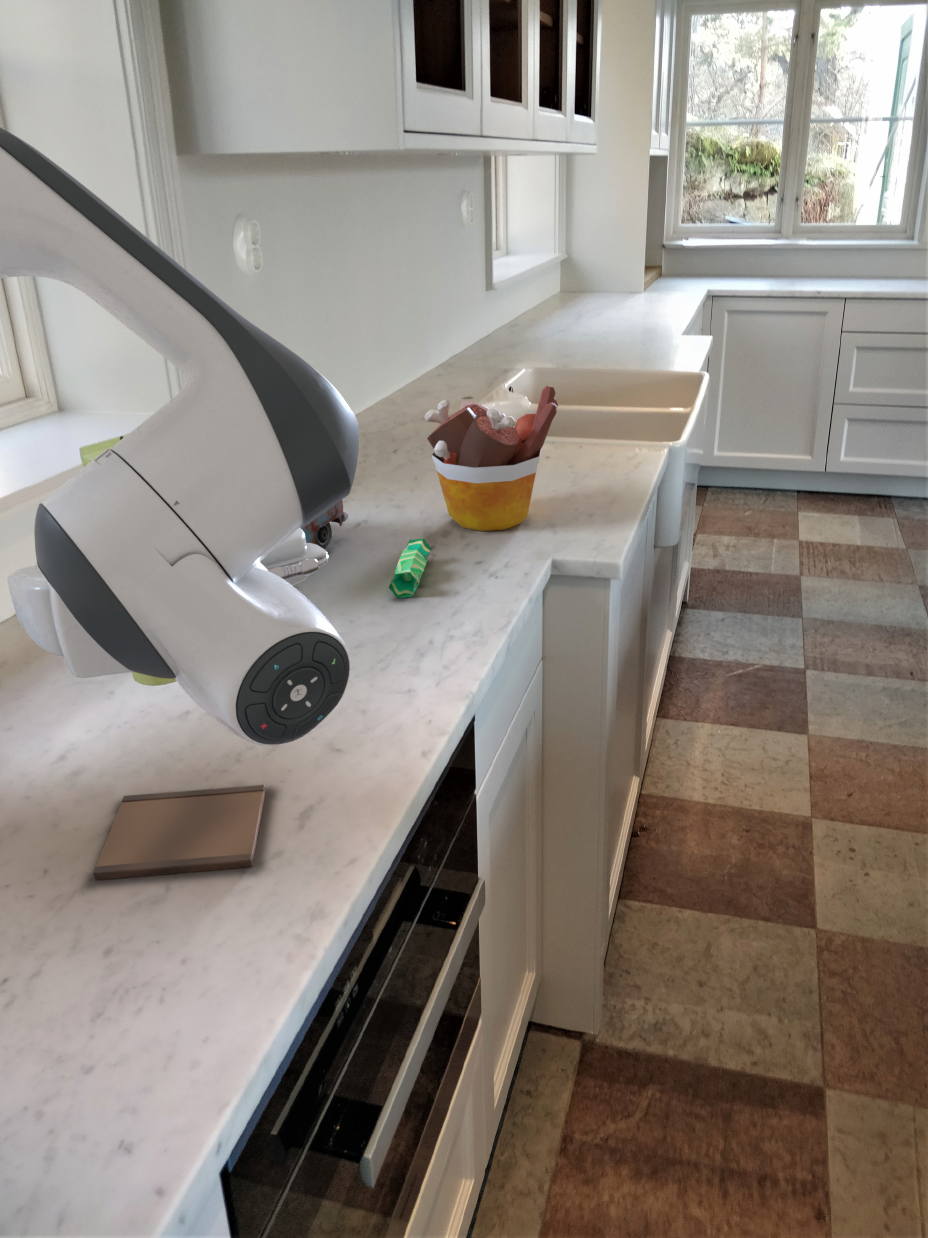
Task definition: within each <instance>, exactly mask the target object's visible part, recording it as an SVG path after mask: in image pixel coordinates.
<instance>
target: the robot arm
mask: <svg viewBox="0 0 928 1238" xmlns="http://www.w3.org/2000/svg"><path fill="white" fill-rule="evenodd" d="M16 277H18V278H19V277H37V278H45V279H46V278H47V279H51V280H56V281H59V282H62V283H64V284H68V285H70V286H71V287H74V288H75V289H77V290H79V291H80V292H82V293H83V294H85V296H87V297H89V298H90V299H91V300H93V302H95V303H96V304H98V305H99V306H100V307H101V308H103V309H104V310H105V311H106V312H108V313H109V314H110V315H111V316H112V317H114V318H115V319H116V320H117V321H119V322H120V323H121V324H122V325H123V326H125V327H126V328H127V329H129V330H130V331H131V332H132V333H134V334H135V335H136V336H137V337H138V338H140V339H141V340H142V341H143V342H145V343H146V344H147V345H149V347H151V348H152V349H154V351H156V352H157V353H158V354H159V355H161V356H162V357H163V358H165V359H166V361H168V362H169V363H171V364H172V365H173V366H174V367H176V368H177V369H178V370H179V371H181V373H183V374H184V375H185V377H186V380H185V384H184V386H183V387H182V389H180V391H178V393H177V394H176V395H174V397H172V398H171V399H170V400H168V401H167V402H166V403H165V404H164V405H162V406H161V407H160V408H158V410H156V411H155V412H154V413H152V415H149V417H147V419H145V420H144V421H142V422H141V423H140V424H139V425H138V426H137V427H135V428H134V429H133V430H131V431H130V432H128V433H129V434H128V433H127V434H128V435H126V436H125V437H124V438H123V439H122V440H120V441H119V442H118V443H117V444H115V445H114V446H113V447H112V448H110V450H109V449H106V450H105V451H104V452H102V453H101V454H100V455H99V456H97V457H96V458H95V459H94V460H92V461H91V462H90V463H89V464H87V465H86V466H85V467H84V468H81V469H80V470H79V471H77V472H76V473H75V474H74V475H72V476H71V477H70V478H68V480H66V481H65V482H64V483H63V484H62V485H61V486H59V487H58V488H57V489H56V490H55V491H53V493H51V494H50V495H49V496H48V497H47V498H46V499H44V500H43V501H42V502H40V503H39V504H38V506H37V508H36V509H37V510H36V514H35V518H34V533H33V535H34V547H35V548H34V549H35V558H36V564H35V565H31V566H25V567H20V568H19V569H17V570H14V571H13V572H12V573H10V574H9V575H8V577H7V586H8V590H9V595H10V598H11V601H12V605H13V609H14V613H15V615H16V618H17V620H18V622H19V625H20V626H21V627H22V629H23V630H24V632H25V633H26V634H27V635H28V636H29V638H31V640H32V641H33V642H34V643H35V644H37V645H38V647H40V648H41V649H42V650H43V651H45V652H47V653H48V654H51V655H55V656H57V657H58V656H59V657H63V658H64V660H65V662H66V665H67V668H68V670H69V672H70V674H71V675H72V676H74V677H75V678H79V679H89V678H96V677H103V676H111V675H119V674H128V673H132V672H136V673H140V674H144V675H148V676H153V677H158V678H167V679H173V678H175V679H176V682H177V683H178V685H179V686H180V688H181V689H182V690H183V691H184V692H185V693H186V694H187V695H188V696H189V698H190V699H191V700H192V701H194V703H195V704H196V705H198V707H199V708H201V709H202V710H203V711H204V712H205V713H206V714H207V715H209V716H210V717H211V719H214V720H215V721H216V722H217V723H218V724H220V725H222V726H223V727H224V728H226V729H227V730H228V731H230V732H231V733H233V734H234V735H236V736H237V737H240V738H241V739H243V740H245V741H247V742H249V743H252V744H255V745H258V746H267V747H270V746H273V747H274V746H280V745H284V744H289V743H291V742H295V741H297V740H300V739H301V738H303V737H304V736H306V735H308V734H309V733H310V732H312V731H313V730H314V729H315V728H317V727H318V726H319V724H321V723H322V722H323V721H324V720H325V719H326V718H328V716H329V715H330V714H331V713H332V711H334V710H335V708H336V707H337V706H338V704H339V703H340V701H341V699H342V698H343V696H344V694H345V691H346V688H347V686H348V683H349V679H350V673H351V657H350V653H349V650H348V648H347V645H346V643H345V641H344V639H343V638H342V636H341V635H340V634H339V633H338V631H337V629H336V628H335V627H334V626H333V624H332V623H331V622H330V621H329V619H328V618H327V617H326V615H324V614H323V612H322V611H321V610H320V609H319V608H318V607H317V606H316V605H315V604H314V603H313V602H312V601H311V600H310V599H309V598H308V597H306V596H305V595H304V594H303V593H302V592H301V591H300V590H299V589H297V588H295V585H298V584H300V583H302V582H305V580H307V579H308V578H309V576H311V575H313V574H314V573H317V572H318V571H319V569H320V567H321V566H323V565H327V564H328V562H329V559H330V556H329V554H328V551H327V550H326V549H325V550H324V549H323V548H321V547H320V546H318V545H316V544H312V543H306V538H305V534H304V532H303V530H302V529H301V528H304V527H305V526H306V525H308V524H309V523H310V522H312V521H313V520H315V519H316V518H317V517H319V516H320V515H321V514H323V513H324V512H326V511H327V510H328V509H330V508H331V507H333V506H334V505H335V504H337V503H338V502H339V501H341V500H342V501H343V500H344V499H345V498H347V497H348V496H349V495H350V493H351V490H352V487H353V484H354V481H355V475H356V473H357V466H358V460H359V450H360V448H359V447H360V428H359V421H358V420H357V418H356V416H355V414H354V412H353V411H352V409H351V407H350V406H349V404H348V403H347V402H346V401H345V399H344V397H343V396H342V395H341V393H340V392H339V391H338V389H337V388H336V387H335V386H334V385H333V384H332V383H331V381H329V379H327V378H326V377H325V376H324V374H322V373H321V372H320V371H318V370H317V369H316V368H314V367H313V366H312V365H310V363H308V362H307V361H306V360H304V359H303V358H302V357H300V355H298V354H297V353H295V352H294V351H293V350H292V349H290V348H289V347H286V345H285V344H283V343H281V342H280V341H278V340H277V339H275V338H274V337H272V336H271V335H270V334H268V333H266V332H265V331H264V330H262V329H261V328H259V327H258V326H256V325H255V324H254V323H253V322H251V321H250V320H248V319H246V318H245V317H244V316H242V315H241V314H240V313H239V312H238V311H236V310H235V309H233V308H232V307H231V306H230V305H228V304H227V303H226V302H225V301H224V300H223V299H221V298H220V297H219V296H218V295H216V294H215V293H214V292H213V291H212V290H211V289H209V288H208V287H207V286H206V285H205V284H203V283H202V281H200V280H199V279H197V277H195V276H194V275H192V274H191V273H190V272H189V271H187V269H186V268H184V267H183V266H182V265H180V264H179V262H177V261H176V260H175V259H173V258H172V257H171V256H170V255H168V253H167V252H165V251H164V250H163V249H162V248H160V247H159V246H158V245H157V244H155V242H154V241H152V240H150V239H149V238H148V237H147V236H146V235H145V234H144V233H142V232H141V231H140V230H139V229H137V228H136V227H135V226H134V225H132V224H131V223H130V222H129V221H128V220H126V219H125V218H124V217H123V216H122V215H121V214H119V213H118V212H117V211H116V210H115V209H113V207H111V206H110V205H108V204H107V202H105V201H104V200H103V199H101V198H100V197H99V196H97V194H95V193H94V192H93V191H91V190H90V189H89V188H88V187H86V186H85V185H84V184H83V183H81V182H80V180H77V179H76V178H75V177H74V176H73V175H71V174H70V173H68V171H66V170H64V168H62V167H61V166H59V165H58V164H57V163H55V162H54V161H53V160H52V159H50V158H49V157H48V156H46V155H45V154H43V152H41V151H40V150H38V149H37V148H35V147H34V146H33V145H31V144H30V143H28V142H26V141H25V140H24V139H21V138H20V137H19V136H17V135H15V134H13V133H11V132H9V131H8V130H6V129H4V128H2V127H0V279H6V278H16Z"/></svg>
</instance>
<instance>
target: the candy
mask: <svg viewBox="0 0 928 1238" xmlns="http://www.w3.org/2000/svg"><path fill="white" fill-rule="evenodd" d="M432 549H433V548H432V547H431V546H430V545H429V543H428V542H427V541H426V539H425V538H424V537H423V538H414V539H413V538H412V539H409V540H408V543H407V544H406V546H405V548H404V549H403V550H402V552H401V555H400V556H399V559H398V562H397V564H396V566H395V570H394V575H393V577H392V578H391V581H390V583H389V584H388V588H389V590H390V592H392V593H393V595H394V596H395V597H396V599H402V598H403V599H404V598H412V597H413V596H414V594H415V592H416V590H417V588H418V587H419V584H420V581H421V579H422V577H423V573H424V571H425V568H426V566H427V563H428V561H427V559H428V557H429V556H430V554H431V551H432Z"/></svg>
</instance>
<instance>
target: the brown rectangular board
mask: <svg viewBox="0 0 928 1238" xmlns="http://www.w3.org/2000/svg"><path fill="white" fill-rule="evenodd" d="M266 791H267V789H266V785H265V784H258V785H244V786H233V787H231V786H230V787H220V788H219V787H218V788H205V789H193V790H181V791H168V792H156V793H155V792H154V793H143V794H129V795H123V797H122V799H121V803H120V806H119V809H118V811H117V813H116V815H115V818H114V821H113V823H112V826H111V828H110V831H109V833H108V835H107V838H106V840H105V843H104V846H103V848H102V851H101V852H100V855H99V858H98V861H97V862H96V866H95V867H94V868H93V871H92V876H93V880H94V881H97V880H109V879H110V880H111V879H121V878H131V877H132V878H134V877H145V876H147V877H148V876H157V875H159V876H160V875H169V874H170V875H171V874H180V873H192V872H193V873H195V872H206V871H217V870H228V869H229V870H230V869H240V868H241V869H242V868H252V867H253V864H254V859H255V853H256V848H257V841H258V835H259V830H260V825H261V821H262V814H263V808H264V803H265V797H266V793H267V792H266Z"/></svg>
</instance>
